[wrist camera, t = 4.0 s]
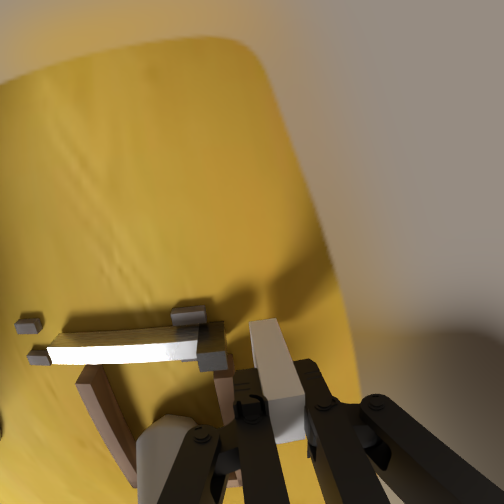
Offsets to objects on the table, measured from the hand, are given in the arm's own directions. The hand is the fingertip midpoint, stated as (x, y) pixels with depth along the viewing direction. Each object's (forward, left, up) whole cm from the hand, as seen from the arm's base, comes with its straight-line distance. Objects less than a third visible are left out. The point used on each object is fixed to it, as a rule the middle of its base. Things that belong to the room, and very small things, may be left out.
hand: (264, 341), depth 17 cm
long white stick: (-6, -3, -2) cm, 8 cm away
